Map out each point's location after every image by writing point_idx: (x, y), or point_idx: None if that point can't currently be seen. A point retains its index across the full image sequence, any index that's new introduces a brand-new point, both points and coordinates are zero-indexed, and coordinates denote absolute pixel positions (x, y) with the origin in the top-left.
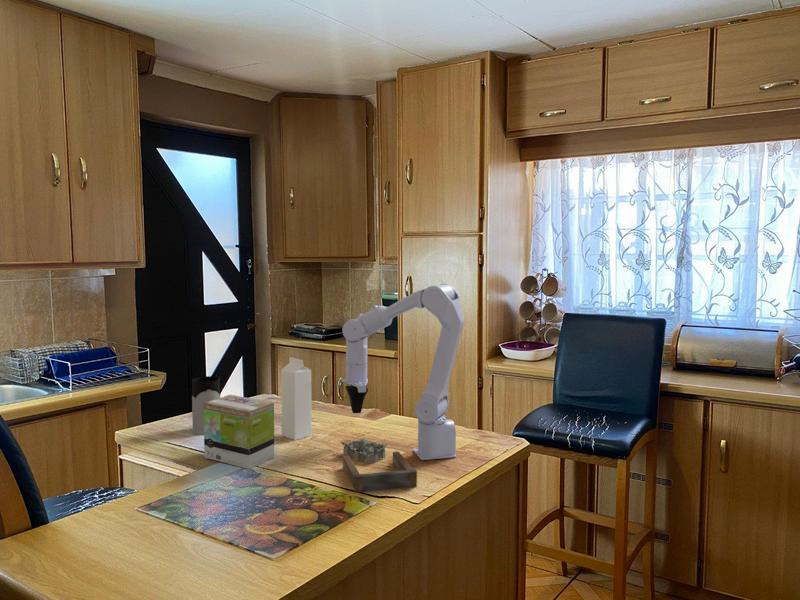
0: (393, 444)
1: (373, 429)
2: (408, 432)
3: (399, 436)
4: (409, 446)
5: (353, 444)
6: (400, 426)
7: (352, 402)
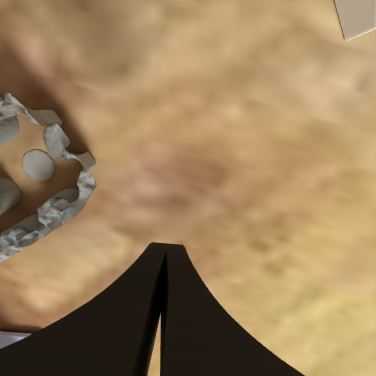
0: None
1: (301, 293)
2: None
3: None
4: None
5: (87, 167)
6: None
7: (111, 288)
